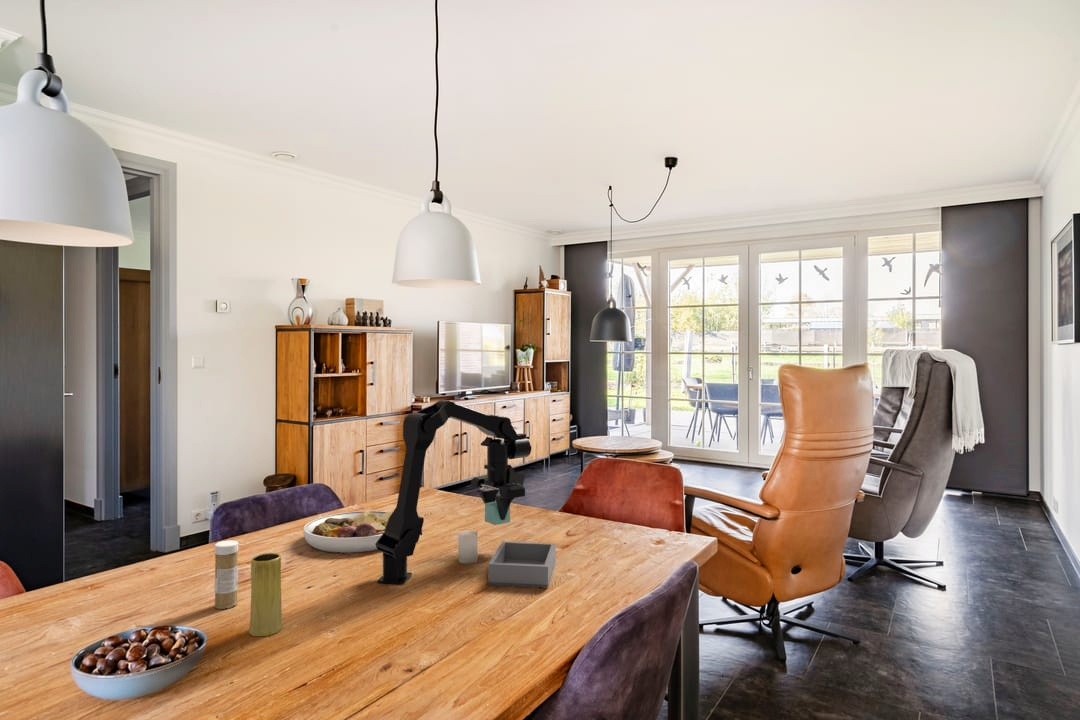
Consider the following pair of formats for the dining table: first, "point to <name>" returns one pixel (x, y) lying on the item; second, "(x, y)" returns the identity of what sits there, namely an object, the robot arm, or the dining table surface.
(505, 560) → the tote
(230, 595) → the spice jar
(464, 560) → the white cylinder
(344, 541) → the bowl
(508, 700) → the dining table surface
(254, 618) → the vase
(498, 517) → the teal cube
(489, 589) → the dining table surface
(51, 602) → the dining table surface
